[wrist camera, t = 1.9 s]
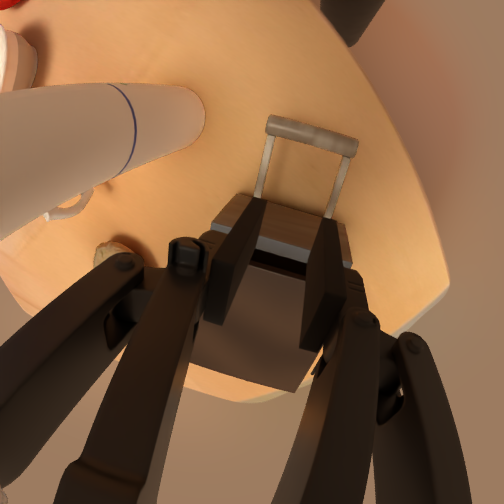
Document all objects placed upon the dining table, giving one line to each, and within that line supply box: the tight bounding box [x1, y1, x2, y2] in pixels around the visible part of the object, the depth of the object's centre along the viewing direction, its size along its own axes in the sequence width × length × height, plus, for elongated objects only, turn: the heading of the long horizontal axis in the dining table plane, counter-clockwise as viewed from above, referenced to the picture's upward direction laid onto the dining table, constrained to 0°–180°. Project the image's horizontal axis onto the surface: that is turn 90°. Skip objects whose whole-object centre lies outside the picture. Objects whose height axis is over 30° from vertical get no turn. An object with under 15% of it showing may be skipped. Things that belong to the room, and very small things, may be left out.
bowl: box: [0, 24, 38, 93], centre depth 22 cm, size 16×16×9 cm
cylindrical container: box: [0, 83, 205, 241], centre depth 17 cm, size 7×7×25 cm
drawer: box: [210, 114, 359, 276], centre depth 26 cm, size 22×11×8 cm, turn 168°
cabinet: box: [190, 260, 323, 393], centre depth 30 cm, size 15×13×10 cm
